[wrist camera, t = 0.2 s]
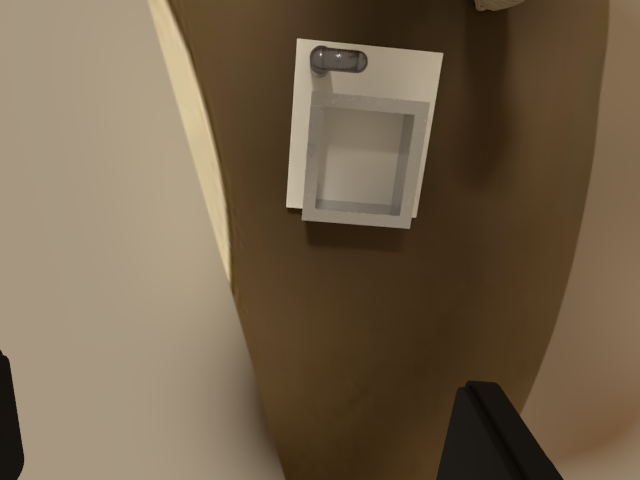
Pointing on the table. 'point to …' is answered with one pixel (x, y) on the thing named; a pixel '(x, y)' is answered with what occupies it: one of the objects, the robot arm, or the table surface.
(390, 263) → the table surface
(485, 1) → the handle
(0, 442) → the robot arm
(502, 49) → the table surface
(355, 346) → the table surface
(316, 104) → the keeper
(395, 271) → the table surface
